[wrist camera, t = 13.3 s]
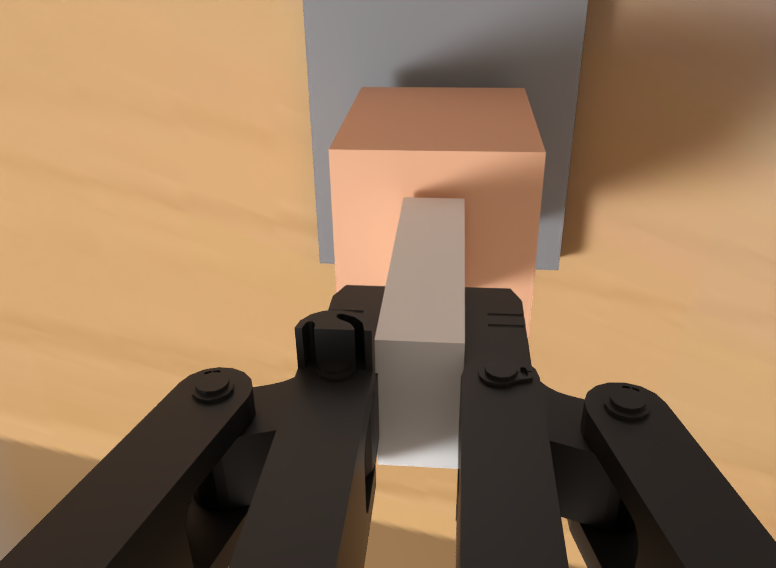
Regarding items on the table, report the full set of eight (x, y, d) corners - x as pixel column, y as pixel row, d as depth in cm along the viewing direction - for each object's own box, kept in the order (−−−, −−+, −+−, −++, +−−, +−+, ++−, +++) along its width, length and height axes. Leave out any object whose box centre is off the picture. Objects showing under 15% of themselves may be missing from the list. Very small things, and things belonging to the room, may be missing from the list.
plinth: (324, 251, 28) (319, 263, 28) (305, -56, 23) (299, -53, 22) (555, 258, 28) (558, 270, 27) (589, -58, 22) (594, -57, 22)
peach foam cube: (361, 87, 23) (328, 149, 17) (524, 87, 23) (545, 152, 17) (366, 233, 26) (338, 331, 20) (513, 237, 25) (528, 338, 19)
